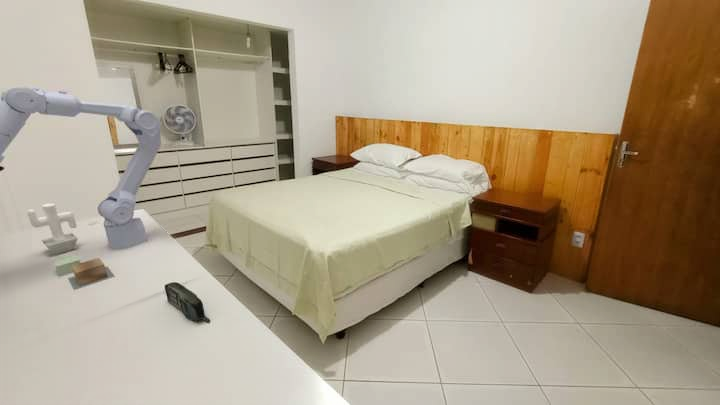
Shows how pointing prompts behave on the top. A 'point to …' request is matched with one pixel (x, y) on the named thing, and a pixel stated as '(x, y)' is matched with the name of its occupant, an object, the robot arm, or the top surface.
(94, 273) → the walnut block
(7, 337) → the top surface
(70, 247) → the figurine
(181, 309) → the dark grey elongated piece
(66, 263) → the green cube
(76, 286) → the base tile
